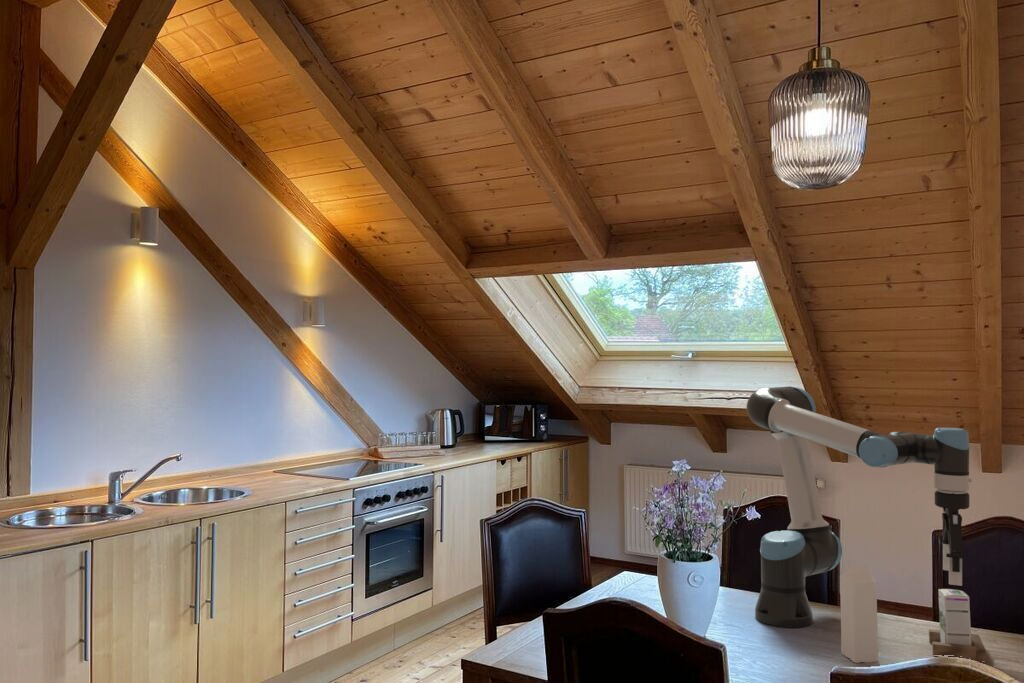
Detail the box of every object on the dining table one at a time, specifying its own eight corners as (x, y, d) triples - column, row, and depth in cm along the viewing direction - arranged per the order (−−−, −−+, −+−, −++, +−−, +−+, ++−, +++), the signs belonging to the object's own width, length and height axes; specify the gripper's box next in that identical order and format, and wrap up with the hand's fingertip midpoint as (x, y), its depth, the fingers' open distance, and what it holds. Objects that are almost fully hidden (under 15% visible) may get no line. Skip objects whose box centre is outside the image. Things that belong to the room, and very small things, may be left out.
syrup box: (972, 656, 189) (971, 596, 190) (945, 654, 191) (944, 594, 191) (965, 648, 195) (963, 589, 195) (938, 646, 196) (937, 588, 197)
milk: (878, 662, 186) (877, 568, 187) (854, 663, 186) (853, 569, 186) (863, 652, 193) (862, 562, 193) (840, 653, 192) (839, 563, 192)
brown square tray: (933, 656, 190) (933, 644, 190) (929, 641, 200) (928, 629, 200) (986, 663, 185) (985, 650, 185) (979, 646, 196) (978, 634, 196)
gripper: (976, 500, 181) (977, 593, 181) (962, 484, 204) (963, 566, 204) (939, 498, 184) (940, 589, 184) (930, 482, 207) (930, 563, 207)
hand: (952, 577), depth 194 cm, fingers open, 13 cm apart
